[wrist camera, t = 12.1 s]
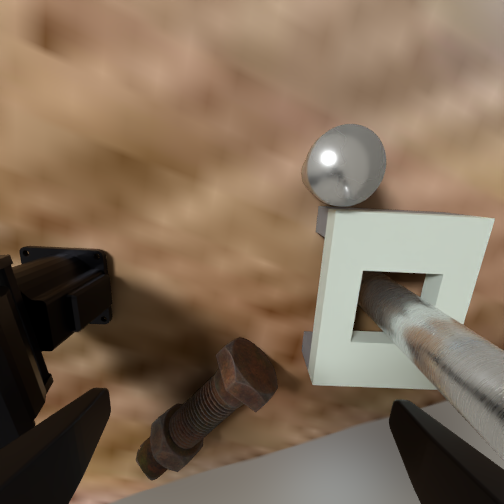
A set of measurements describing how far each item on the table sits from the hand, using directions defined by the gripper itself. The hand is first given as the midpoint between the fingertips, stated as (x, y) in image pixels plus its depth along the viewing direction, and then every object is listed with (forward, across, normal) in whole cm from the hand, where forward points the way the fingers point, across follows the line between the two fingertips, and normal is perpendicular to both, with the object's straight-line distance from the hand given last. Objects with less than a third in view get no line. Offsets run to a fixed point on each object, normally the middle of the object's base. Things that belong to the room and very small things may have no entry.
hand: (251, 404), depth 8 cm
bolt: (+13, +4, +13) cm, 19 cm away
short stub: (+13, -5, -8) cm, 16 cm away
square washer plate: (+13, -10, +1) cm, 16 cm away
